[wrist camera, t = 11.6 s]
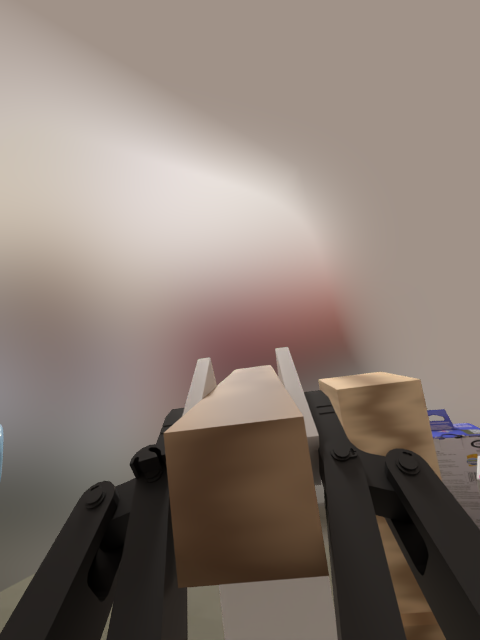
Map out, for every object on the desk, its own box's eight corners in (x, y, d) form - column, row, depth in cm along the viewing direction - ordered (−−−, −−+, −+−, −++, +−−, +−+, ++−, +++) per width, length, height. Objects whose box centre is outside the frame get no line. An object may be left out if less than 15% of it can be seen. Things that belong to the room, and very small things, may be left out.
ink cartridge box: (490, 512, 35) (465, 405, 37) (524, 543, 30) (493, 415, 31) (410, 512, 37) (391, 410, 39) (429, 540, 32) (405, 421, 34)
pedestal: (254, 904, 12) (206, 470, 15) (256, 656, 22) (227, 421, 25) (380, 903, 12) (310, 459, 14) (325, 652, 22) (289, 413, 24)
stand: (373, 649, 22) (329, 392, 24) (337, 554, 32) (309, 379, 34) (496, 642, 21) (438, 379, 24) (420, 548, 31) (385, 370, 34)
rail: (178, 587, 7) (163, 433, 7) (240, 405, 29) (235, 369, 29) (328, 575, 7) (303, 416, 7) (275, 401, 28) (270, 364, 29)
